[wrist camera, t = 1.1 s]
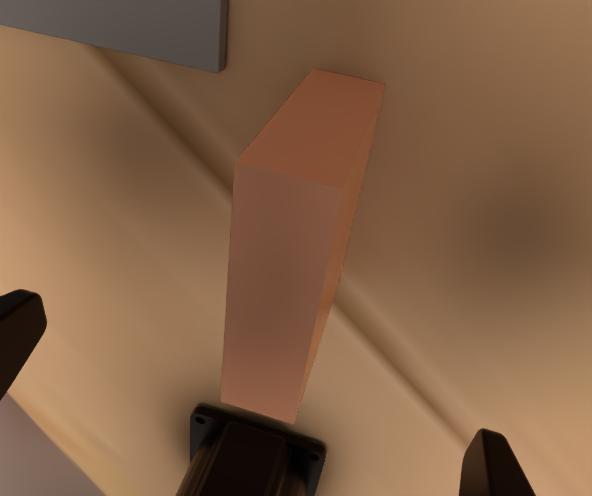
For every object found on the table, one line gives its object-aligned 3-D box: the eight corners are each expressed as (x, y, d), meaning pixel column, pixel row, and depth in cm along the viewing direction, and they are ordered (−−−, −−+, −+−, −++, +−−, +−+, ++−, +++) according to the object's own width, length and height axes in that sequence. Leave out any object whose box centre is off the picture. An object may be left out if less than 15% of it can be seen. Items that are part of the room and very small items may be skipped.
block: (339, 281, 18) (293, 424, 13) (284, 266, 18) (220, 401, 13) (386, 83, 14) (343, 189, 9) (313, 67, 14) (234, 162, 9)
